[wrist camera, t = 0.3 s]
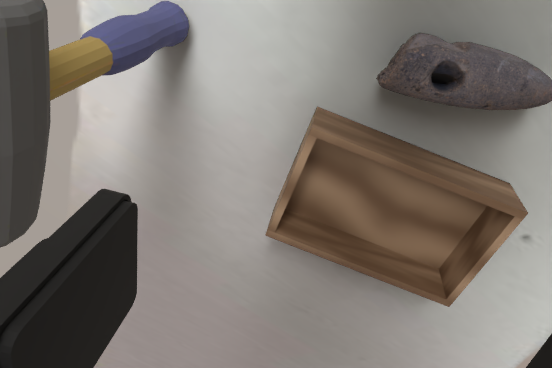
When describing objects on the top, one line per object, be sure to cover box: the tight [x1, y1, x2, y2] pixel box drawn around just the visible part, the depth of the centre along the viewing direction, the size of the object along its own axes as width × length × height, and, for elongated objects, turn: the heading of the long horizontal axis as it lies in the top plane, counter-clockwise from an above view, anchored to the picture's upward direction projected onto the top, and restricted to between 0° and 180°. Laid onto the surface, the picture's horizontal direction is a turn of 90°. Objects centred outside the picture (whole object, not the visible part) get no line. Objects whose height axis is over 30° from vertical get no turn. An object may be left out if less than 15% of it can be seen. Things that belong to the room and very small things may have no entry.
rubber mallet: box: [0, 0, 189, 247], centre depth 29 cm, size 12×8×30 cm, turn 161°
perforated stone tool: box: [376, 33, 552, 110], centre depth 36 cm, size 15×5×7 cm, turn 79°
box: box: [266, 107, 528, 307], centre depth 45 cm, size 14×22×6 cm, turn 71°
